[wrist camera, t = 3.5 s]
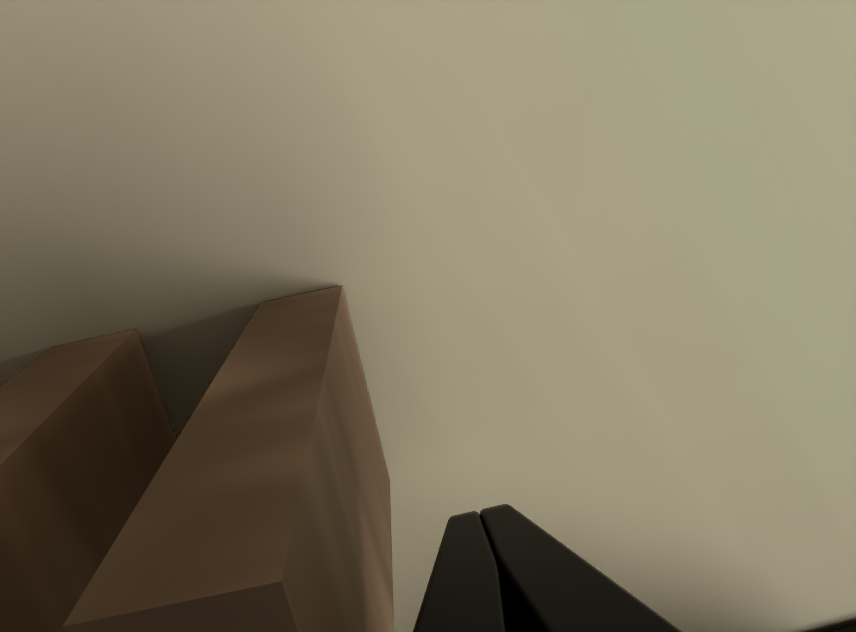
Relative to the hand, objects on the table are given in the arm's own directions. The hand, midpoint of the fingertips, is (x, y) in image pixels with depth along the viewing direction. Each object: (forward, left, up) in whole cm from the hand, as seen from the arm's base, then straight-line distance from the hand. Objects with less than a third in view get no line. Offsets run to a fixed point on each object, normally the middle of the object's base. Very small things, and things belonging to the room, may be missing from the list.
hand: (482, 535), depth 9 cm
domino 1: (+2, 0, -6) cm, 7 cm away
